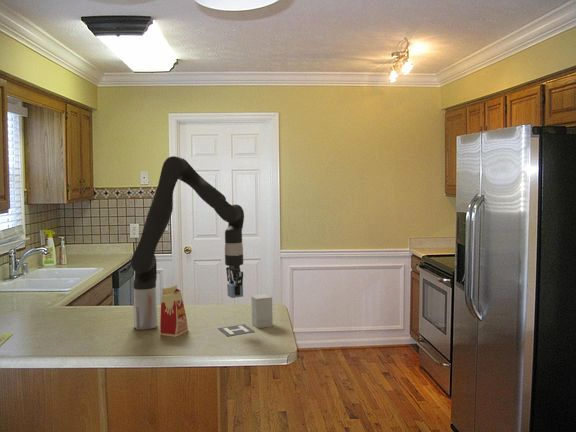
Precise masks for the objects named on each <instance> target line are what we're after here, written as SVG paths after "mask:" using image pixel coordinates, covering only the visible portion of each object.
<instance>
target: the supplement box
mask: <svg viewBox="0 0 576 432" xmlns="http://www.w3.org/2000/svg"><path fill="white" fill-rule="evenodd" d="M250 297H251V301H250V302H251V325H253V326H254V327H255V328H256V329H259V328H261V329H262V328H270V327H273V326H274V323H273V322H274V321H273V319H274V318H273V297H272V296H270V295H269V294H268V293H262V294H253V295H251V296H250Z"/></svg>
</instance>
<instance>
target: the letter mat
mask: <svg viewBox="0 0 576 432" xmlns="http://www.w3.org/2000/svg"><path fill="white" fill-rule="evenodd" d="M217 329H218V330H219V331H220V332H221V333H223V334H224V335H225V336H226V337H233V336H240V335H243V334H250V333H255V332H256V331H255V330H254V329H252V328H251V327H249V326H248V325H246V324H245V323H244V324H235V325H230V326H224V327H217Z"/></svg>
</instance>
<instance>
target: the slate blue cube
mask: <svg viewBox="0 0 576 432" xmlns="http://www.w3.org/2000/svg"><path fill="white" fill-rule="evenodd" d="M238 283H239V282H238ZM226 286H227V289H226V290H227V297H229V298H230V299H234V298H235V299H236V298H242V297H244V284H243V285H241V286H240V295H238V296H236V295H235V286H234V283H229V282H228V283H227V285H226Z"/></svg>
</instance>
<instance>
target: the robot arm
mask: <svg viewBox="0 0 576 432" xmlns="http://www.w3.org/2000/svg"><path fill="white" fill-rule="evenodd" d="M178 180H179V181H180V182H182V183H185V184H186V185H188V186H189V187H190V188H192V190H194V192H195V193H196V195H198V197H199V198H201V200H202V201H203V202H205V203H206V204H207V205H208V206H210V207H211V208H213V210H214V211H215V213H216V214H217V215H218V216H219V218H221V219H222V220H223V221H225V222H226V223H227V224H228V225H227V227H226V229H225V230H224V264H225V265H226V266H227V267H226V268H225V270H226V278H227V282H228V284H229V283H234V286H235V295H236V296H238V295H240V286H241V285H243V286H244V284H243V283H244V281H243V280H244V272H243V271H241V267H240V266H243V265H244V247H243V245H244V244H243V233H242V232H243V227H244V223H245V212H244V208H243V207H242V206H241V205H239V204H230V203H229V202H228V201H227V197H226V196H225V195H224V194H223V193H221V192H220V191H219V190H218V189H217V188H215V187H214V186H213V185H211V184H210V183H209V182H207V180H205V179H204V178H203V177H202V176H201V175H200V174H199V173H198V172H197V171H196V170H195V169H194V167H193V166H192V165H191V164H190V163H189V162H188V161H187V160H186V159H185V158H182V157H180V156H175V155H171V156H169V157H167V158H165V160H164V162H163V164H162V166H161V171H160V174H159V181H158V183H157V188H156V190H155V193H154V195H153V198H152V201H151V203H150V207H149V210H148V212H147V215H146V217H145V218H146V219H145V222H144V225H143V227H142V228H143V229H142V231H141V232H142V233H141V236H140V239H139V242H138V244H137V246H136V249H135V250H134V253H133V254H132V256H131V260H130V265H131V268H132V271H134V280H133V301H134V303H133V305H132V306H133V323H134V324H133V326H134V328H135V329H136V331H138V330H139V331H140V330H152V329H155V328H157V327H158V307H157V305H158V304H157V277H158V276H157V275H158V273H157V267H158V266H157V257H156V255H155V253H156V250H157V247H158V244H159V241H160V240H161V238H162V236H163V235H164V233H165V231H166V229H167V226H168V224H169V223H170V220H171V217H172V214H173V209H174V207H173V206H174V199H173V198H174V192H175V191H174V190H175V187H176V185H177V183H178ZM238 282H239V283H238Z"/></svg>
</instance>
